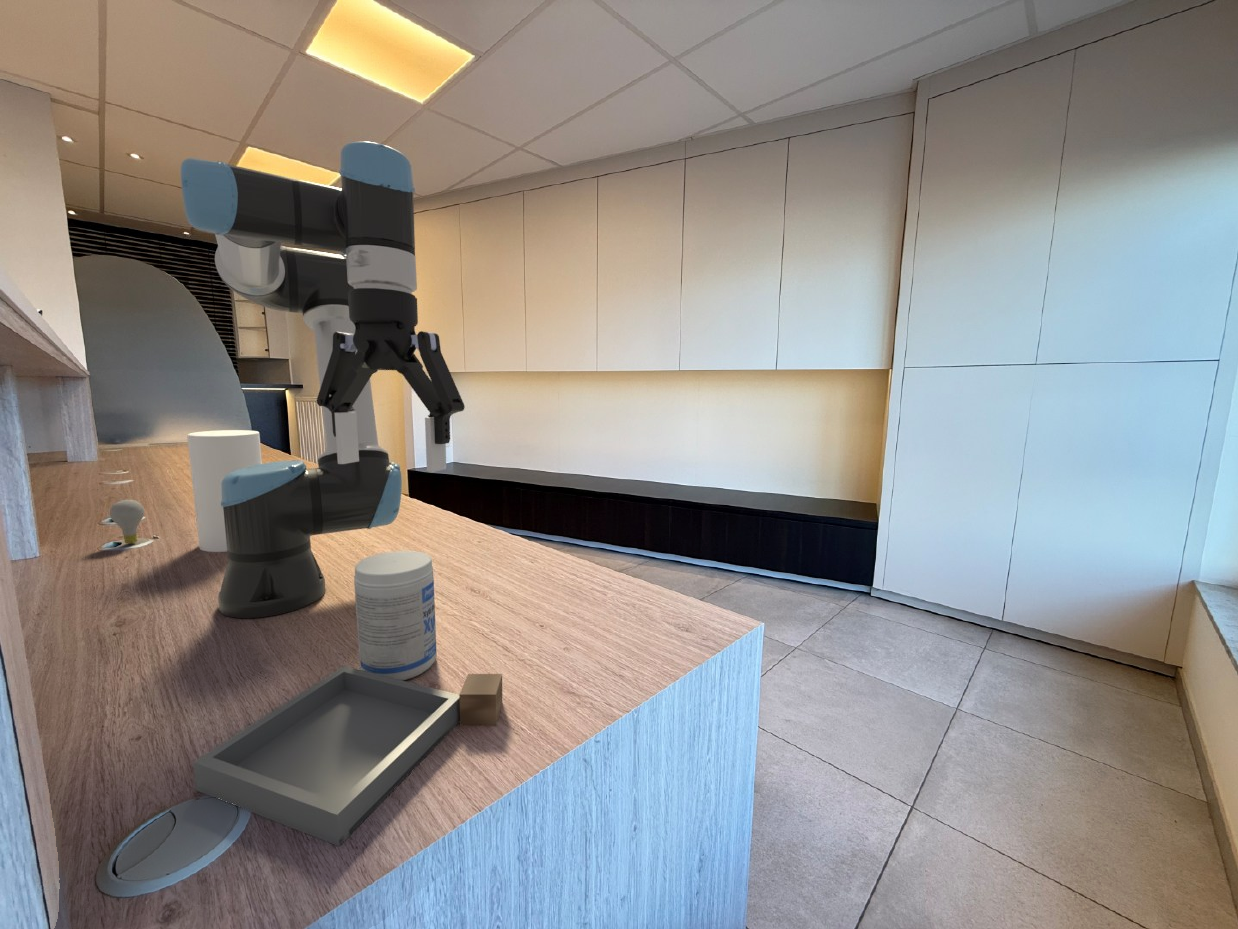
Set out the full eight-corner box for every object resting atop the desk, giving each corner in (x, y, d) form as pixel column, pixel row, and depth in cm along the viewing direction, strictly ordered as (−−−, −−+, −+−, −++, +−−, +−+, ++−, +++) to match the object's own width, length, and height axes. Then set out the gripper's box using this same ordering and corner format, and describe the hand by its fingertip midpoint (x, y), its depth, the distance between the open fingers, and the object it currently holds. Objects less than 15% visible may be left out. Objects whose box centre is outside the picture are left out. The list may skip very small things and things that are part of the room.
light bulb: (131, 548, 109) (125, 503, 108) (106, 547, 109) (100, 502, 108) (155, 540, 115) (149, 497, 113) (131, 539, 115) (125, 496, 113)
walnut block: (460, 726, 57) (459, 694, 56) (468, 704, 61) (468, 673, 60) (496, 726, 57) (495, 694, 56) (502, 704, 61) (502, 674, 60)
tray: (196, 790, 47) (192, 762, 47) (345, 688, 63) (344, 666, 63) (339, 846, 42) (337, 815, 42) (462, 719, 58) (461, 695, 58)
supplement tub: (444, 672, 67) (441, 566, 65) (365, 695, 62) (358, 581, 59) (427, 640, 75) (423, 545, 73) (355, 658, 70) (349, 556, 67)
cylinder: (256, 550, 110) (245, 436, 106) (187, 553, 107) (174, 436, 103) (276, 533, 122) (267, 430, 118) (215, 536, 119) (204, 429, 115)
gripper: (275, 288, 61) (289, 463, 64) (452, 281, 53) (457, 479, 57) (328, 298, 68) (338, 455, 71) (491, 293, 60) (494, 469, 64)
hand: (391, 466), depth 64 cm, fingers open, 13 cm apart
